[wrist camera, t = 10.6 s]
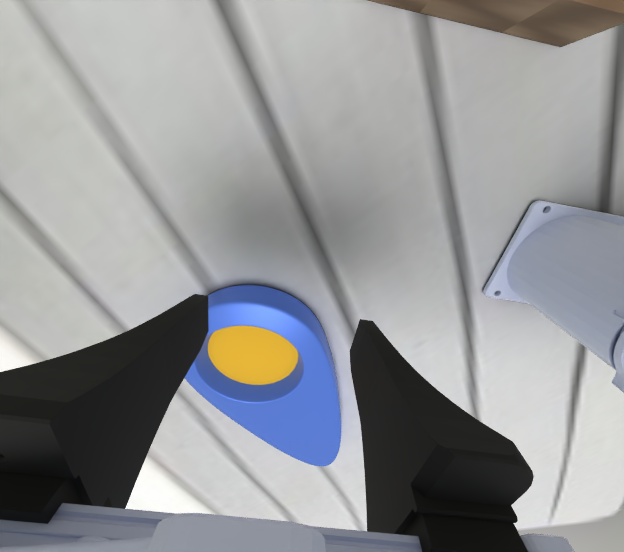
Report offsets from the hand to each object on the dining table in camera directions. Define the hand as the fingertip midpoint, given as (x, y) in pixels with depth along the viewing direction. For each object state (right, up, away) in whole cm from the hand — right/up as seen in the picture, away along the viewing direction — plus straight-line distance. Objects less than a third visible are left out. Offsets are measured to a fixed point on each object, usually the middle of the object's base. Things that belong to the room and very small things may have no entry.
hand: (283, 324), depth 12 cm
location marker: (-2, -9, +16) cm, 18 cm away
